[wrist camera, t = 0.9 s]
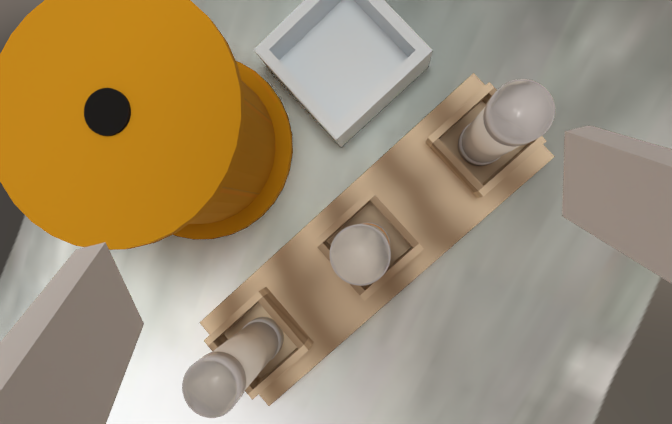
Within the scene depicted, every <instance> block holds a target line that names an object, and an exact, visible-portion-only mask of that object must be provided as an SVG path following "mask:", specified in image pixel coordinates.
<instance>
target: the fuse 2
mask: <svg viewBox="0 0 672 424" xmlns="http://www.w3.org/2000/svg"><path fill="white" fill-rule="evenodd" d="M554 116H555V104H554V100H553V98H552V96H551V94H550V92H549V91H548V90H547V89H546V88H545V87H544V86H543V85H541V84H540V83H538V82H536V81H533V80H528V79H517V80H513V81H510V82H508V83H506V84H504V85H502V86H501V87H500V88H499V89H498V90H497V91H496V92H495V93H494V94H493V96H492V97H491V98H490V99H489V101H488V102H487V104H486V106H485V107H484V108H483V110H482V111H481V112H480V113H479V114H478V115H477V117H476V118H475V119H474V120H473V121H472V122H471V123H470V124H469V125H467V126H466V128H465V129H464V130H463V131H462V132H461V134H460V136H459V139H458V151H459V153H460V155H461V157H462V158H463V159H464V160H465V161H466V162H467V163H469V164H471V165H474V166H485V165H488V164H491V163H493V162H494V161H496V160H498V159H499V158H500V157H501V156H503V155H505V154H506V153H508V152H510V151H512V150H514V149H516V148H517V147H519V146H522V145H525V144H528V143H530V142H532V141H534V140H535V139H537V138H539V137H541V136H542V135H543V134H544V133H545V132H546V131H547V130H548V129H549V128H550V126H551V124H552V122H553V120H554Z"/></svg>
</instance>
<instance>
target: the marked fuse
mask: <svg viewBox="0 0 672 424" xmlns="http://www.w3.org/2000/svg"><path fill="white" fill-rule="evenodd" d="M390 258H391V251H390V238H389V235H388V233H387V232H386V230H385V229H384V228H383V227H381V226H380V225H378V224H376V223H371V222H366V223H362V224H356V225H352V226H349V227H346V228H345V229H343V230H342V231H340V232H339V233H338V234H337V235H336V237H335V238H334V240H333V241H332V244H331V247H330V262H331V265H332V268H333V270H334V271H335V273H336V274H337V275H338V276H339V277H340V278H341V279H342V280H344V281H345V282H347V283H349V284H353V285H358V286H363V285H368V284H371V283H374V282H376V281H377V280H379V279H380V278H381V277H382V276H383V275H384V274H385V272H386V271H387V269H388V266H389V263H390Z"/></svg>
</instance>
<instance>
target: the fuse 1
mask: <svg viewBox="0 0 672 424" xmlns="http://www.w3.org/2000/svg"><path fill="white" fill-rule="evenodd" d="M283 342H284V335H283V331H282V329H281V328H280V327H279V326H278V324H277V323H276V322H275V321H274V320H273V319H271V318H268V317H258V318H255V319H253V320H252V321H250V322H249V323H248V324H246V325H245V326H244V327H243V328H242V330H240V331H239V332H238V333H236V334H235V335H234V336H232V337H231V338H230V339H228V340H227V341H226V342H224V343H223V344H222V345H220V346H219V347H218V348H216V349H215V350H214V351H212V352H211V353H209V354H207V355H205V356H203V357H202V358H201V359H199V360H198V361H197V362H195V363H194V364H193V365H192V366H191V367H190V368H189V369H188V370H187V372H186V373H185V376H184V378H183V384H182V391H183V396H184V399H185V401H186V403H187V404H188V406H189V407H190V408H191V409H192V410H193V411H194V412H195V413H197V414H198V415H200V416H203V417H207V418H216V417H220V416H223V415H225V414H226V413H228V412H229V411H230V410H231V409H232V408H233V407H234V405H235V404H236V403H237V402H238V400H239V399H240V398H241V397H242V395H243V393H244V391H245V390H246V389H247V387H248V386H249V385H250V384H251V383H252V381H253V380H254V379H255V378H256V377H257V375H258V374H259V373H260V372H261V371H262V369H263V368H264V367H265V366H266V365H267V363H268V362H269V361H270V360H272V359H273V358H274V357H275V356H276V354H277V353H278V352H279V351H280V349H281V348H282V345H283Z"/></svg>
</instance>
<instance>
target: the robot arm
mask: <svg viewBox="0 0 672 424" xmlns="http://www.w3.org/2000/svg"><path fill="white" fill-rule="evenodd" d="M562 216H563V217H564V218H566V219H568V220H569V221H571V222H573V223H574V224H576V225H577V226H579V227H581V228H582V229H584V230H586V231H587V232H589V233H590V234H592V235H594V236H595V237H597V238H599V239H600V240H602V241H603V242H605V243H607V244H608V245H610V246H612V247H613V248H615V249H616V250H618V251H620V252H621V253H623V254H625V255H626V256H628V257H629V258H631V259H633V260H634V261H636V262H637V263H639V264H641V265H642V266H644V267H646V268H647V269H649V270H650V271H652V272H654V273H655V274H657V275H659V276H660V277H662V278H663V279H665V280H667V281H668V282H670V283H672V149H669V148H666V147H662V146H659V145H655V144H652V143H648V142H645V141H642V140H638V139H635V138H631V137H628V136H625V135H621V134H618V133H614V132H611V131H607V130H604V129H601V128H597V127H594V126H590V125H588V126H584V127H580V128H576V129H572V130H567V131H565V141H564V174H563V207H562ZM143 325H144V323H143V321H142V319H141V317H140V315H139V312H138V310H137V308H136V306H135V304H134V302H133V300H132V298H131V295H130V293H129V291H128V289H127V287H126V285H125V283H124V281H123V278H122V276H121V274H120V272H119V270H118V268H117V266H116V264H115V261H114V259H113V257H112V255H111V253H110V251H109V249H108V247H107V244H106V242H104V243H100V244H96V245H92V246H88V247H84V248H80V249H76V250H75V251H74V253H73V254H72V255H71V256H70V258H69V259H68V260H67V261H66V262H65V264H64V265H63V266H62V267H61V269H60V270H59V271H58V272H57V274H56V275H55V276H54V277H53V278H52V280H51V281H50V282H49V283H48V285H47V286H46V287H45V288H44V289H43V291H42V292H41V293H40V294H39V296H38V297H37V298H36V299H35V301H34V302H33V303H32V304H31V305H30V307H29V308H28V309H27V310H26V312H25V313H24V314H23V315H22V316H21V318H20V319H19V320H18V321H17V323H16V324H15V325H14V326H13V327H12V329H11V330H10V331H9V332H8V334H7V335H6V336H5V337H4V339H3V340H2V341H1V342H0V424H106V422H107V419H108V417H109V414H110V411H111V409H112V406H113V404H114V401H115V398H116V396H117V393H118V390H119V388H120V385H121V383H122V380H123V377H124V375H125V372H126V369H127V367H128V364H129V362H130V359H131V356H132V354H133V351H134V349H135V346H136V343H137V341H138V338H139V335H140V333H141V330H142V328H143Z"/></svg>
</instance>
